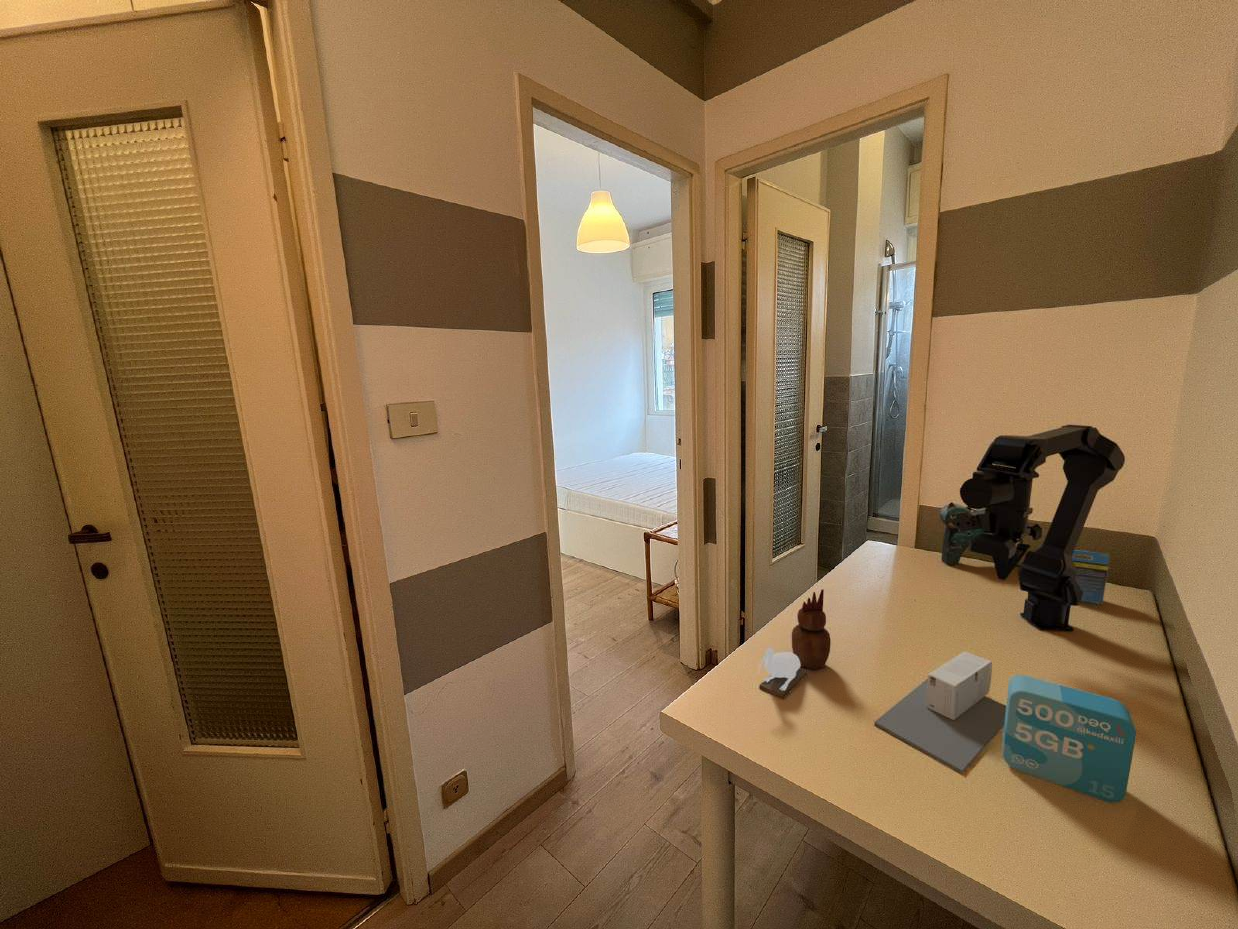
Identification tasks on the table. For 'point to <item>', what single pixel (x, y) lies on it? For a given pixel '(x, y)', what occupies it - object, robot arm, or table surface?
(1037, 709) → the data package
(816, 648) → the wooden figurine
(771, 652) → the figurine
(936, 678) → the skincare box
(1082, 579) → the label tape box
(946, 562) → the ceramic cat
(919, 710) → the mat
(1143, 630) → the table surface
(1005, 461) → the robot arm
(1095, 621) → the table surface
